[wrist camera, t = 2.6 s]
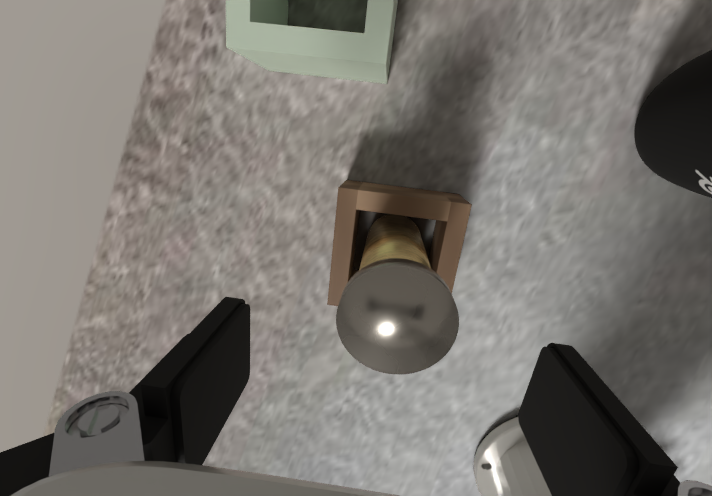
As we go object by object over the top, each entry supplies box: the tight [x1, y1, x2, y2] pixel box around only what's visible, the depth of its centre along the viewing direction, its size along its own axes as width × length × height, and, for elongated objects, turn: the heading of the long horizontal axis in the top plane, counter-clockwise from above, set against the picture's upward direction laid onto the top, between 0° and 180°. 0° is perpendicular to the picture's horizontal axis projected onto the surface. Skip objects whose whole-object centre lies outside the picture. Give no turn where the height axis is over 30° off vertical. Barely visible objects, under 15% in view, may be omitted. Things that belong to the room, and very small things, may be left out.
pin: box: [336, 214, 459, 374], centre depth 19 cm, size 5×5×12 cm
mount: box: [327, 180, 472, 306], centre depth 23 cm, size 8×8×4 cm
